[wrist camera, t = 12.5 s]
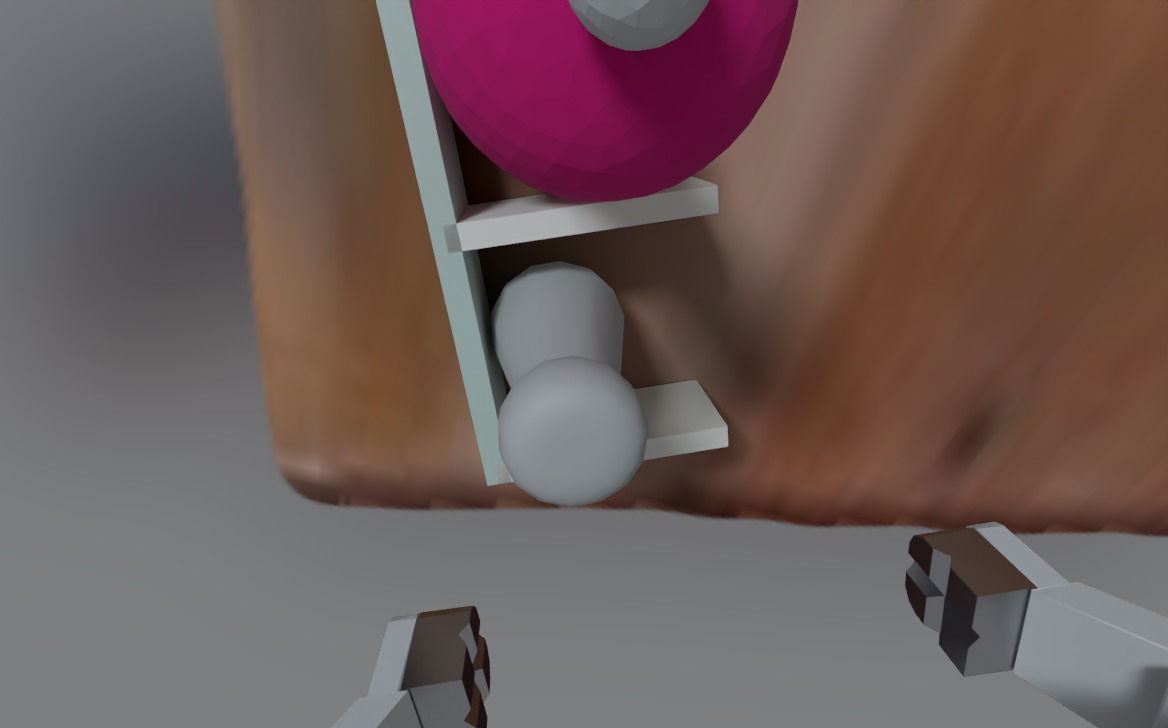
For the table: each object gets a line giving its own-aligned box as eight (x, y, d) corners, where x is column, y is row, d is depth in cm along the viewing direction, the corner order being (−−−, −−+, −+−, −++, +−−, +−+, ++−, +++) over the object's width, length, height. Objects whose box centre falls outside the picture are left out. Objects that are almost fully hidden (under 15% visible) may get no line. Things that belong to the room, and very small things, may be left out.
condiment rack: (666, -104, 22) (703, -162, 18) (697, 397, 30) (728, 446, 26) (385, -68, 22) (348, -118, 17) (493, 429, 30) (487, 485, 25)
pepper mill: (428, 80, 24) (102, -53, 5) (548, -75, 22) (664, -1012, 4) (561, 205, 26) (650, 408, 8) (679, 72, 25) (1142, -70, 6)
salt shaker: (632, 270, 28) (715, 386, 16) (596, 379, 30) (645, 558, 18) (508, 235, 26) (496, 332, 14) (479, 352, 28) (447, 522, 16)
